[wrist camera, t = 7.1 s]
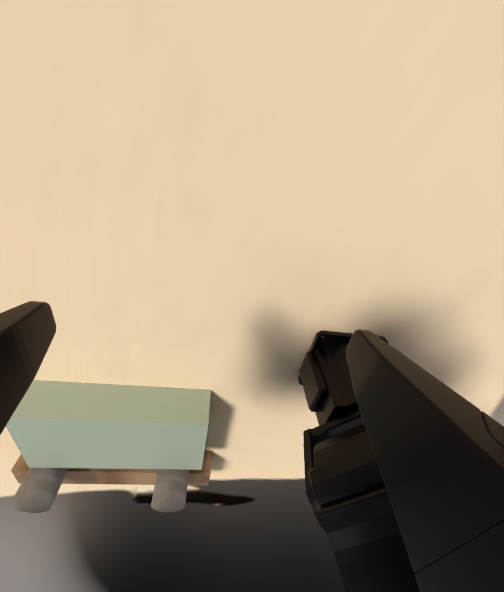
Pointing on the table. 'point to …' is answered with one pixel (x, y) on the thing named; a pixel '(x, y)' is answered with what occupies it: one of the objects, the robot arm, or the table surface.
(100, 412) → the painted plate block
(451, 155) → the table surface
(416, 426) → the robot arm
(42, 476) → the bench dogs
